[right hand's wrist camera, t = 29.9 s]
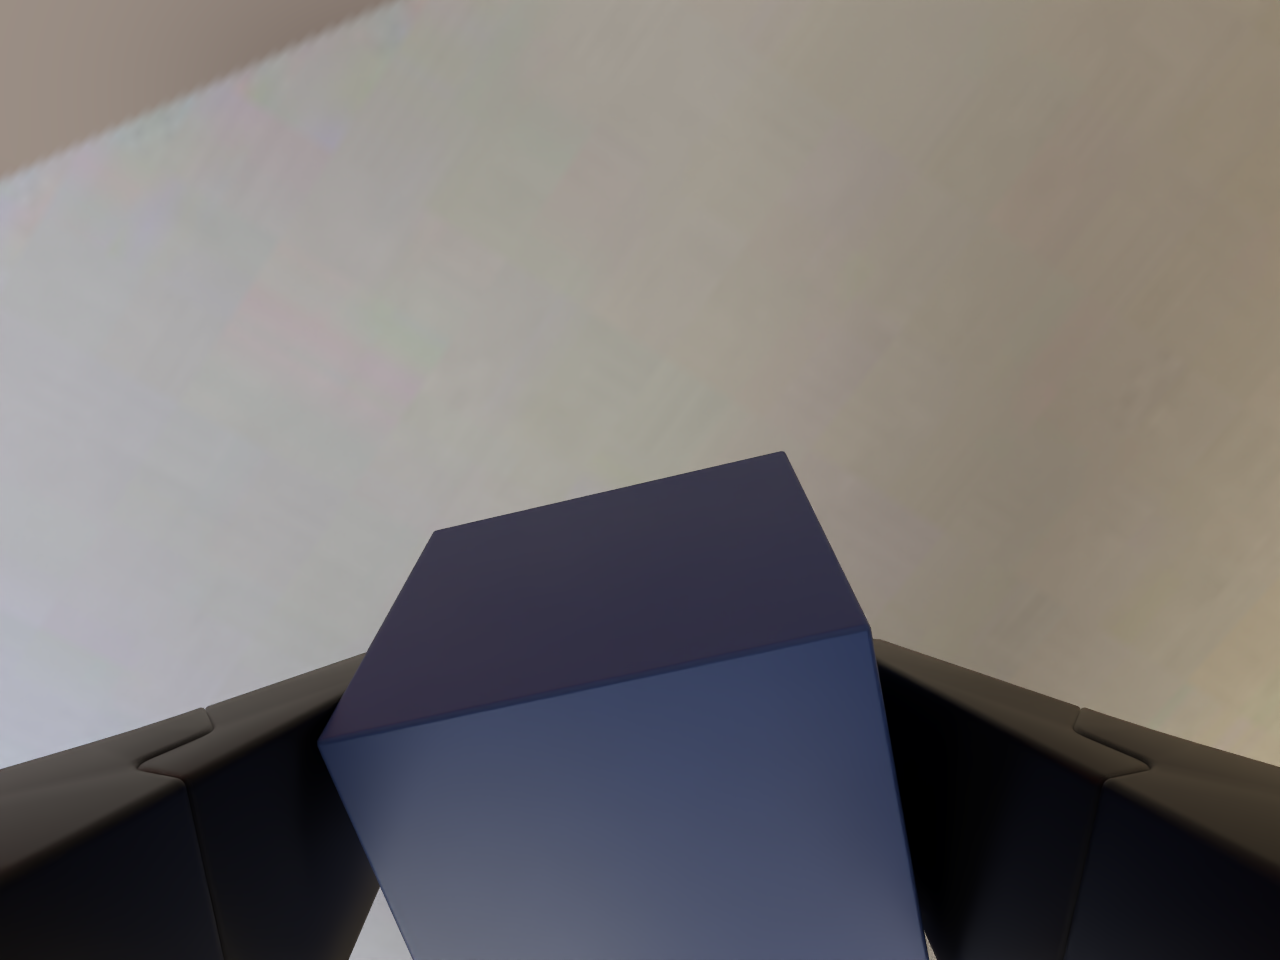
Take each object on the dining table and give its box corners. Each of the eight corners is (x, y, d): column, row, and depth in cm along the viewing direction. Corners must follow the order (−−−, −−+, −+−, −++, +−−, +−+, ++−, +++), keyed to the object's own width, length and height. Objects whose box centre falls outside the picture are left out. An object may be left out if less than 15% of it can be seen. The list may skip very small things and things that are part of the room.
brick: (520, 775, 13) (461, 1073, 9) (433, 529, 12) (312, 743, 8) (836, 710, 13) (935, 990, 9) (784, 448, 12) (871, 624, 7)
